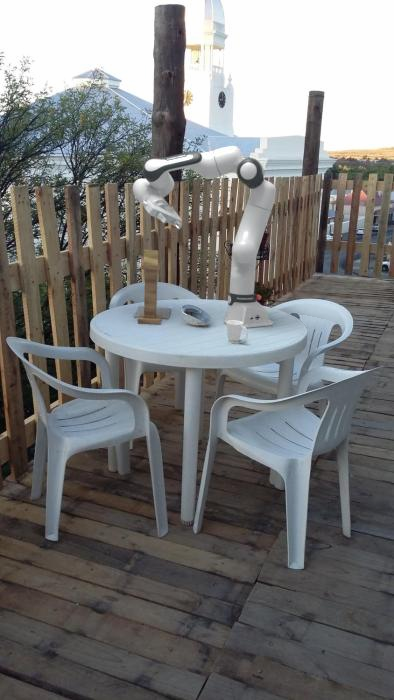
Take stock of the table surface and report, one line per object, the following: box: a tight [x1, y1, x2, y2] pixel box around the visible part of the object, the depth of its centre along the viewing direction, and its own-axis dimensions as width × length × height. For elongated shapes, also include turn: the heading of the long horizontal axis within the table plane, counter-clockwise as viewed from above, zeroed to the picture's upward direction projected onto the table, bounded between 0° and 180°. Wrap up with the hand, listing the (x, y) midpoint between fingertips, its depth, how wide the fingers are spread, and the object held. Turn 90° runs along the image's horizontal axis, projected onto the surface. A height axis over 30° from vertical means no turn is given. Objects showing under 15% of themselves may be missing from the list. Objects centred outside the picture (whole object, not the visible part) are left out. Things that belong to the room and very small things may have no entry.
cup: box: [225, 320, 249, 344], centre depth 230 cm, size 7×10×8 cm
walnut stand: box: [137, 261, 163, 326], centre depth 254 cm, size 10×10×26 cm
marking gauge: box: [143, 249, 159, 265], centre depth 254 cm, size 16×6×6 cm, turn 179°
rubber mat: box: [133, 305, 172, 320], centre depth 274 cm, size 22×16×1 cm
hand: (172, 225), depth 243 cm, fingers open, 8 cm apart
